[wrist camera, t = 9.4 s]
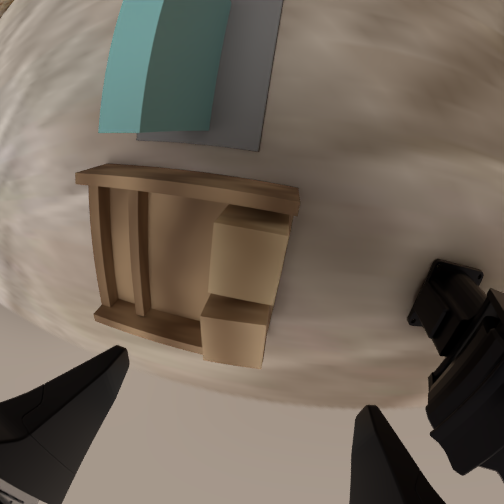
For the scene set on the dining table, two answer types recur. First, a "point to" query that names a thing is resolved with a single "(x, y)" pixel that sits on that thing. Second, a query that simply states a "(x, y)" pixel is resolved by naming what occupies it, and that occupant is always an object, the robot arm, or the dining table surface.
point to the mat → (238, 79)
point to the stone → (4, 5)
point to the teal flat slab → (163, 66)
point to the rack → (164, 243)
